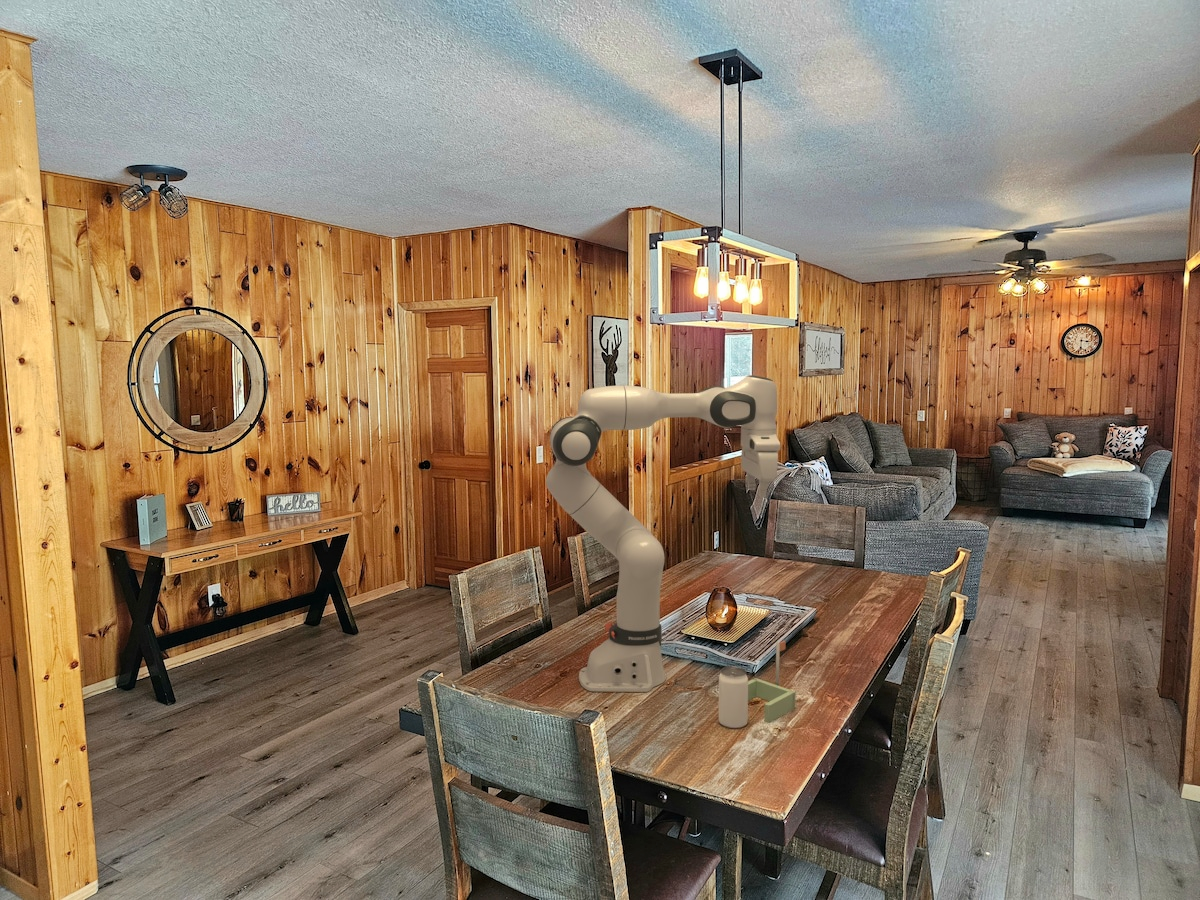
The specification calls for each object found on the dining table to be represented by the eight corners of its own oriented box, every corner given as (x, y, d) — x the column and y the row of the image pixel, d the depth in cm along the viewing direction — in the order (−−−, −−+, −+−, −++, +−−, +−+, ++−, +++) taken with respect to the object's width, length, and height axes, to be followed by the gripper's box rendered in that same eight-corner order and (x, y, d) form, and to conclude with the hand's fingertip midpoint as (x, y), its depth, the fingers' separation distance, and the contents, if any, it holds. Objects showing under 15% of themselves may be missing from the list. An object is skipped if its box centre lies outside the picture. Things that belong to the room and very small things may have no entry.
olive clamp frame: (768, 722, 176) (769, 662, 174) (728, 707, 184) (728, 649, 183) (804, 702, 186) (805, 646, 184) (764, 688, 194) (765, 634, 193)
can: (744, 715, 179) (744, 665, 178) (750, 728, 173) (751, 676, 172) (716, 716, 179) (716, 666, 178) (721, 729, 173) (721, 677, 172)
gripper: (735, 435, 208) (734, 486, 210) (757, 444, 188) (755, 501, 190) (759, 434, 209) (757, 485, 211) (782, 444, 189) (780, 500, 191)
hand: (756, 493), depth 200 cm, fingers open, 8 cm apart
